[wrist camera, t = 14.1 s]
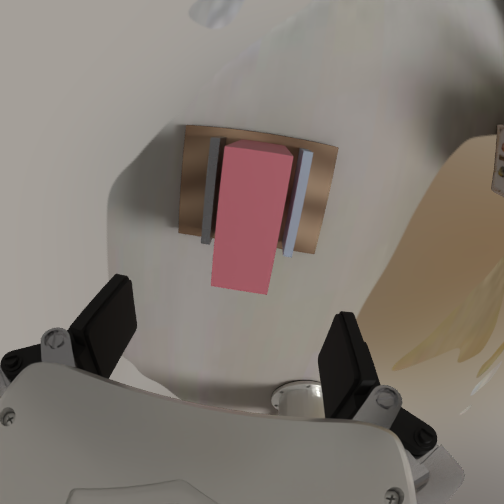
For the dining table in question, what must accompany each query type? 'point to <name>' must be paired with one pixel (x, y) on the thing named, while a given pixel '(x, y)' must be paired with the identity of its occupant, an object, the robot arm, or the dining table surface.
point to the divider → (296, 201)
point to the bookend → (212, 187)
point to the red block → (249, 214)
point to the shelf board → (315, 191)
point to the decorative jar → (499, 163)
